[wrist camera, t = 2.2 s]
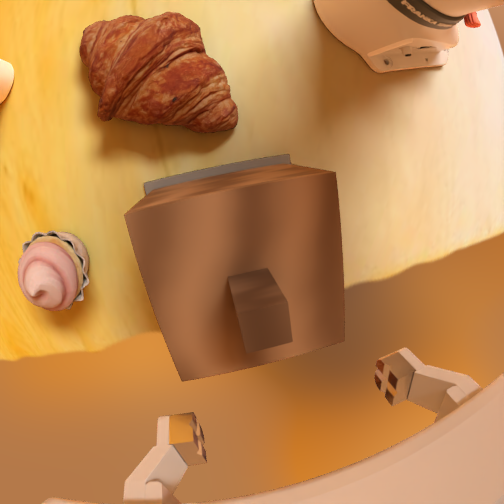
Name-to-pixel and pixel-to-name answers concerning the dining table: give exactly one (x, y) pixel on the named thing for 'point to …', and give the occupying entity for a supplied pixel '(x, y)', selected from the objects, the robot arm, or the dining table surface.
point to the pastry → (157, 73)
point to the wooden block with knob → (243, 266)
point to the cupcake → (53, 270)
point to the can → (5, 79)
